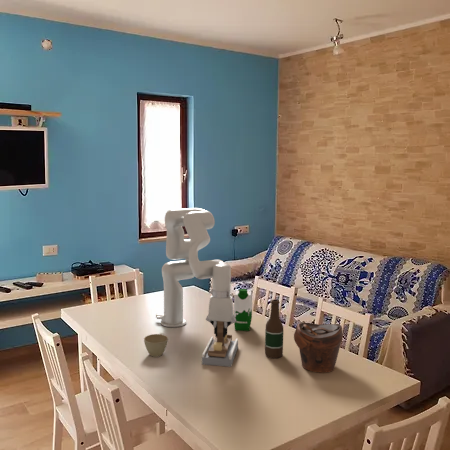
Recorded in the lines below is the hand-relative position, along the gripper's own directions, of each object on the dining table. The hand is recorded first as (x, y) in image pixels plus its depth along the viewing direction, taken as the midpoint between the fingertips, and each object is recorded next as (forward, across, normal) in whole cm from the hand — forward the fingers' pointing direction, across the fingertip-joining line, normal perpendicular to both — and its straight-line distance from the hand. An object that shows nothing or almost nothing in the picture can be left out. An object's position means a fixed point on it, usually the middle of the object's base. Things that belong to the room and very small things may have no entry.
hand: (220, 335), depth 203 cm
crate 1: (+4, 0, -6) cm, 8 cm away
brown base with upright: (+5, 0, 0) cm, 5 cm away
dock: (+9, 0, 0) cm, 9 cm away
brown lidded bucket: (+9, +40, -3) cm, 41 cm away
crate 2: (+4, 0, +6) cm, 8 cm away
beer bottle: (+9, +22, +5) cm, 24 cm away
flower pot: (+9, -27, -4) cm, 29 cm away
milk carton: (+9, +5, +35) cm, 36 cm away
